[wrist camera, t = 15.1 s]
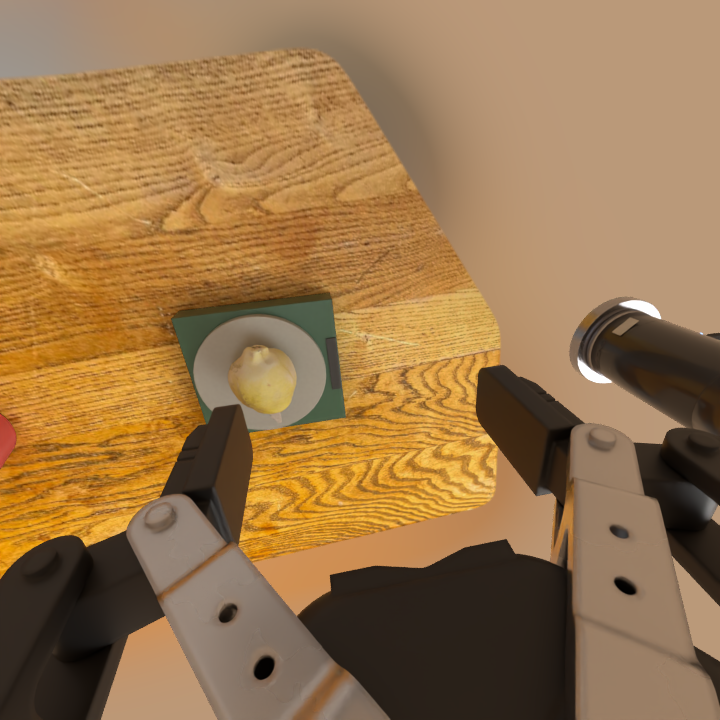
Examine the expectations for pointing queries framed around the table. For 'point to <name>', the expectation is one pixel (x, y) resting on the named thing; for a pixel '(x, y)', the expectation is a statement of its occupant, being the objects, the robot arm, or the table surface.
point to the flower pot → (6, 439)
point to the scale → (273, 330)
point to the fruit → (263, 380)
